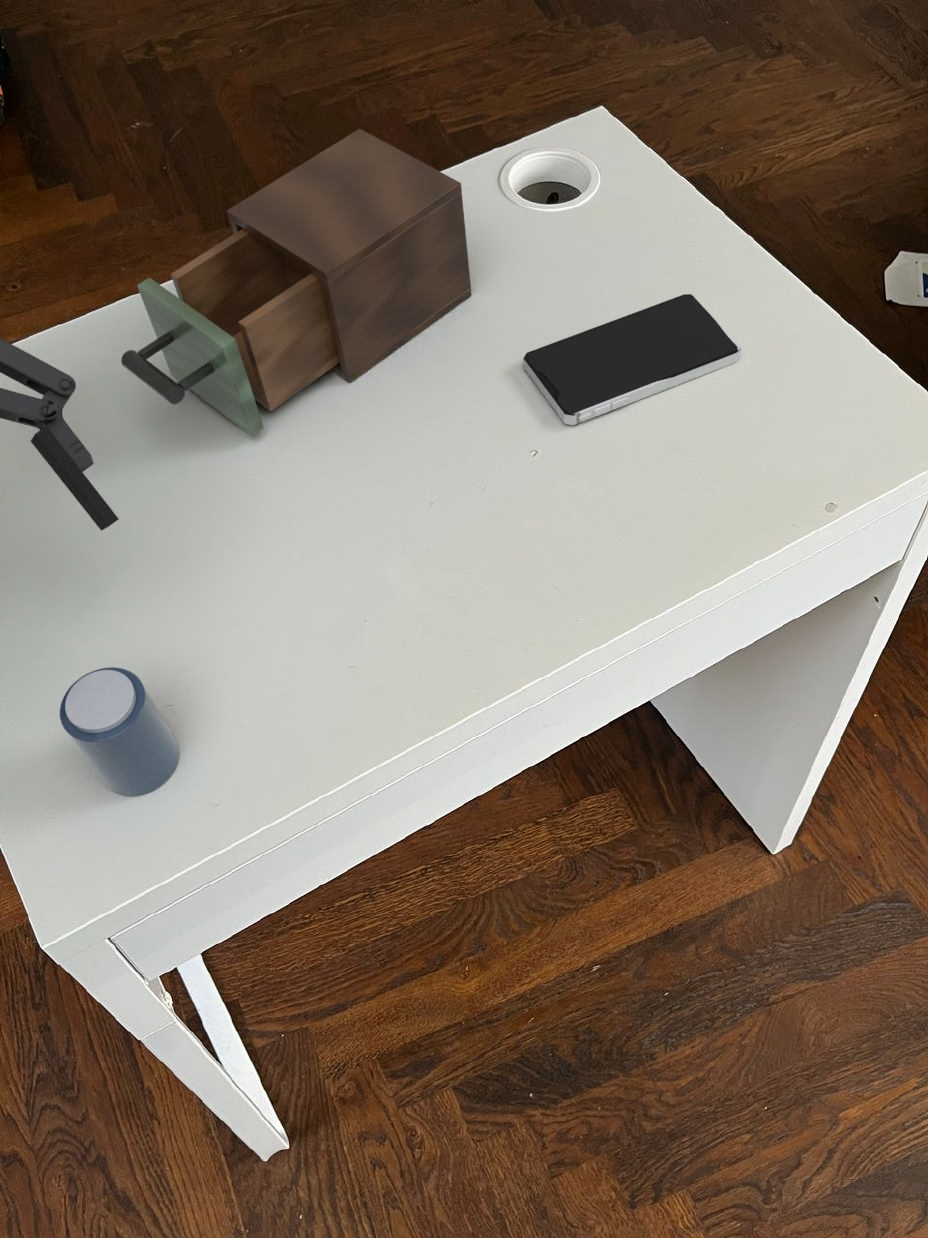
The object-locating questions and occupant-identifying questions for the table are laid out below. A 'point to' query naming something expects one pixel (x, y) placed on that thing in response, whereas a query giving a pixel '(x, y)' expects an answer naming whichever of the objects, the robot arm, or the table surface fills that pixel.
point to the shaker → (120, 731)
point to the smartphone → (630, 358)
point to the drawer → (237, 330)
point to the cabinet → (368, 242)
